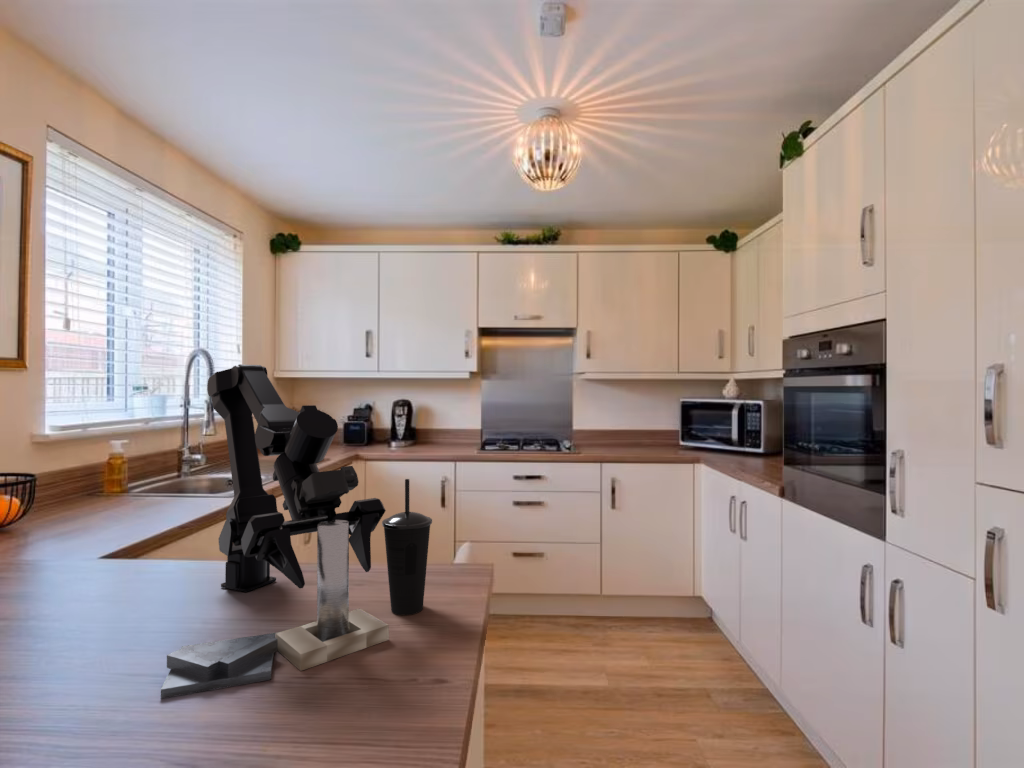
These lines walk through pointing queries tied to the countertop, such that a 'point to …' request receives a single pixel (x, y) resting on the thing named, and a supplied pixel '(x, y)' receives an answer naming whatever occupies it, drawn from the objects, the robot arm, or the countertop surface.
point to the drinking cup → (407, 558)
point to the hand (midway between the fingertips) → (337, 578)
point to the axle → (332, 579)
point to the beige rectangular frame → (311, 651)
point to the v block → (219, 664)
